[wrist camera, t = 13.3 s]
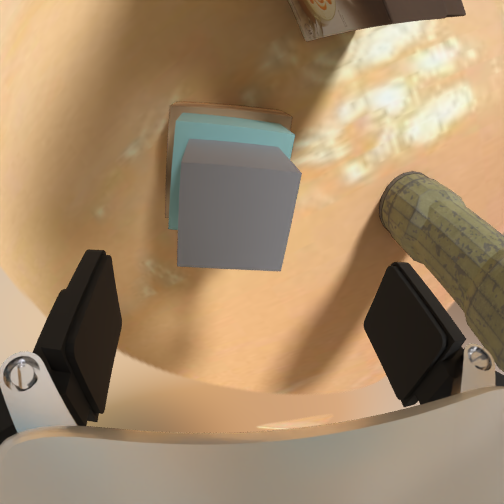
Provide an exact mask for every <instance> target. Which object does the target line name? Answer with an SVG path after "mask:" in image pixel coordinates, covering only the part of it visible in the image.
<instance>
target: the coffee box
mask: <svg viewBox="0 0 504 504" xmlns="http://www.w3.org/2000/svg"><path fill="white" fill-rule="evenodd" d="M288 1H289V4H290V6H291V8H292V10H293V13H294V15H295V17H296V20H297V22H298V24H299V27H300V29H301V32H302V34H303V37H304V39H305V41H311V40H315V39H318V38H322V37H327V36H331V35H336V34H340V33H345V32H349V31H354V30H359V29H364V28H370V27H376V26H382V25H389V24H396V23H404V22H411V21H419V20H431V19H442V18H445V17H457V16H464V15H466V13H465V10H464V7H463V4H462V1H461V0H288Z"/></svg>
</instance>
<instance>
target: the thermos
mask: <svg viewBox="0 0 504 504" xmlns="http://www.w3.org/2000/svg"><path fill="white" fill-rule="evenodd" d="M379 214H380V219H381V222H382V224H383V226H384V227H385V228H386V229H387V230H388V231H389V232H390V233H391V236H392V237H393V238H394V239H395V240H396V241H397V242H398V244H399V245H400V246H401V247H402V248H403V249H404V250H405V251H406V252H407V253H408V255H409V256H410V257H411V258H412V259H413V260H414V261H417V262H419V263H422V264H424V265H425V266H426V267H427V269H428V270H429V271H430V272H431V273H432V274H433V275H434V276H435V278H436V279H437V280H438V281H439V282H440V283H441V285H442V286H443V287H444V288H445V289H446V290H447V292H448V293H449V294H450V295H451V296H452V298H453V299H454V300H455V301H456V302H457V304H458V305H459V306H460V307H461V309H462V310H463V311H464V313H465V317H466V321H467V324H468V326H469V327H470V328H471V330H472V331H473V332H474V334H475V335H476V336H477V337H478V339H479V341H480V342H481V343H482V345H483V346H484V348H485V349H486V350H488V351H489V353H490V354H491V355H492V357H493V359H494V362H495V363H496V364H497V366H498V367H499V369H501V370H502V371H503V372H504V236H503V235H502V234H501V233H500V232H498V231H497V230H496V229H495V228H493V227H492V226H491V225H489V224H488V223H487V222H486V221H484V220H483V219H482V218H480V217H479V216H478V215H476V214H475V213H474V212H472V211H471V210H470V209H468V208H467V207H466V206H465V204H464V202H463V201H462V199H461V197H460V196H458V195H457V194H455V193H454V192H453V191H451V190H450V189H448V188H447V187H445V186H443V185H442V184H440V183H439V182H437V181H436V180H434V179H430V178H428V177H427V176H425V175H424V174H422V173H420V172H414V171H411V172H407V173H403V174H401V175H400V176H398V177H396V178H395V179H394V180H393V181H392V182H391V183H390V184H389V185H388V186H387V188H386V189H385V191H384V193H383V195H382V197H381V202H380V206H379Z"/></svg>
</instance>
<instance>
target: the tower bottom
mask: <svg viewBox="0 0 504 504" xmlns="http://www.w3.org/2000/svg"><path fill="white" fill-rule="evenodd" d="M182 113H194V114H206V115H216V116H226V117H235V118H243V119H251V120H258V121H265V122H271V123H278V124H281V125H282V126H284V127H285V128H286V129H288V130H289V131H290V129H291V123H292V116H290V115H288V114H286V113H284V112H282V111H280V110H273V109H265V108H256V107H247V106H237V105H226V104H213V103H197V102H175V103H173V104H172V105H171V106H170V112H169V126H168V143H167V165H166V206H165V218H169V204H170V186H171V171H172V158H173V146H174V135H175V125H176V120H177V119H178V118H179V116H180V115H181V114H182Z"/></svg>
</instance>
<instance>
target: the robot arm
mask: <svg viewBox="0 0 504 504" xmlns="http://www.w3.org/2000/svg"><path fill="white" fill-rule="evenodd" d="M121 327H122V318H121V313H120V308H119V302H118V296H117V291H116V285H115V278H114V272H113V265H112V258H111V256H110V255H106V252H105V251H104V250H87V251H86V252H85V254H84V256H83V258H82V260H81V261H80V263H79V265H78V267H77V269H76V271H75V273H74V275H73V277H72V279H71V281H70V283H69V285H68V287H67V289H63V290H61V292H60V293H59V295H58V297H57V299H56V301H55V303H54V305H53V307H52V310H51V312H50V314H49V316H48V318H47V320H46V323H45V325H44V327H43V330H42V332H41V334H40V337H39V338H38V341H37V343H36V346H35V348H34V351H33V353H31V352H19V353H15V354H13V355H11V356H10V357H8V358H7V359H6V360H5V361H4V362H3V364H2V366H1V368H0V504H504V375H502V374H500V373H499V372H497V371H495V362H494V359H493V357H492V355H491V354H490V353H489V351H488V350H486V349H485V348H484V347H482V346H481V345H478V344H473V343H471V344H468V345H467V346H466V347H465V348H464V349H463V348H462V347H461V346H462V344H463V343H464V341H465V340H466V338H465V337H464V335H463V334H462V332H461V331H460V330H459V328H458V327H457V325H456V324H455V323H454V322H453V320H452V318H451V317H450V316H449V314H448V313H447V311H446V310H445V309H444V307H443V306H442V305H441V303H440V302H439V301H438V299H437V298H436V297H435V296H434V294H433V293H432V292H431V290H430V289H429V288H428V286H427V285H426V284H425V283H424V281H423V280H422V279H421V278H420V276H419V275H418V274H417V273H416V271H415V270H414V269H413V268H412V266H411V265H410V264H409V263H405V262H394V263H392V264H391V266H389V267H388V268H387V270H386V272H385V275H384V277H383V279H382V282H381V284H380V287H379V289H378V291H377V293H376V296H375V298H374V300H373V303H372V305H371V307H370V309H369V311H368V314H367V316H366V318H365V320H364V329H365V331H366V333H367V335H368V338H369V340H370V342H371V344H372V346H373V348H374V350H375V352H376V354H377V356H378V358H379V360H380V362H381V364H382V366H383V369H384V371H385V373H386V375H387V377H388V379H389V381H390V384H391V386H392V388H393V390H394V392H395V394H396V397H397V398H398V399H399V400H401V402H402V404H403V406H404V407H406V406H410V405H414V404H416V403H417V402H418V400H419V402H420V405H418V406H414V407H410V408H406V409H403V410H398V411H394V412H390V413H385V414H381V415H376V416H371V417H366V418H362V419H357V420H351V421H345V422H339V423H333V424H326V425H319V426H311V427H303V428H294V429H284V430H272V431H259V432H240V433H175V432H152V431H138V430H126V429H115V428H102V427H91V426H86V424H87V421H93V422H97V420H98V415H99V413H101V414H103V413H104V410H105V404H106V399H107V393H108V388H109V383H110V377H111V372H112V368H113V363H114V357H115V354H116V349H117V345H118V340H119V336H120V332H121Z"/></svg>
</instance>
